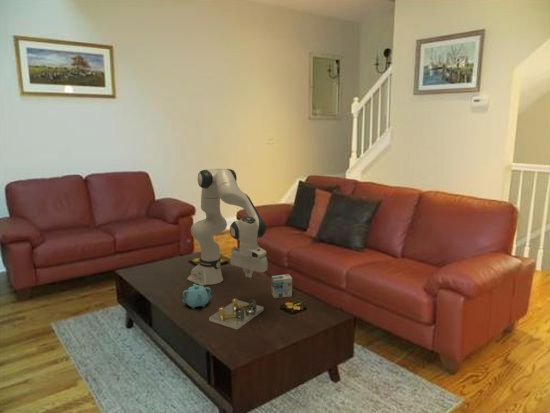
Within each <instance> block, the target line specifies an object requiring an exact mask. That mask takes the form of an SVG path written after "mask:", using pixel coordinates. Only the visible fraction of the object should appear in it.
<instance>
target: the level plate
mask: <svg viewBox="0 0 550 413" xmlns="http://www.w3.org/2000/svg"><path fill="white" fill-rule="evenodd" d="M245 304H248V302H246V301H242V300H239V299H238V305H245ZM264 308H265V306H261V305H258V304H256V308H254V309H250V308H246V309H244V316H243V317H241V318H238V317H232V318H226V319H223V320H220V319H219V310H218V311H216V312H215V313H214V314H212V315H210V316H209V318H208V321H209V322H210V323H211V322H212V323H215V324H218V325H221V326H224V327H228V328H230V329H234V330H237V331H238V330H240V328H242V327H243V326H244V325H246V324H247V323H249V322H250V321H251V320H252V319H254V318H256V317H257V316H259V314H261V313H262V312H264ZM230 313H236V311H234V310H233V305H232V302H231V303H229V304H228V305H226V306H225V307H224V314H230Z"/></svg>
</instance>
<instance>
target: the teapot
mask: <svg viewBox="0 0 550 413" xmlns="http://www.w3.org/2000/svg"><path fill="white" fill-rule="evenodd" d="M207 290H208V291H207ZM211 292H212V290H211V288H210V287H209V286H206V287H205V285H199V284H197V283H193V284H192V286H189V287H188V288H187V289H185V290H184V291H182V295H183V296H182V297H183V298H182V302H183V303H186V304H187V306H189V307H190V308H191V310H192V309H193V310H194V309H196V308H197V307H202V308H205V307H206V305H207V304H208V303H209V300H210V299H211V298H212V295H211ZM185 293H186V294H185Z"/></svg>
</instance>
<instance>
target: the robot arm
mask: <svg viewBox="0 0 550 413" xmlns="http://www.w3.org/2000/svg"><path fill="white" fill-rule="evenodd" d="M197 183H198V186H199V187H200V188H201V195H200V209H201V211H202V212H203V213H205V217H206V218H205V219H201V220H198V221H196V222H194V223H193V224H192V225H191V227H190V234H191V236H192V237H193V238H194V239H195V240H197V242H198V244H199V248H200V256H201V257H200V258H199V259H197V262H199V263H198V264H197V265H195V267H193V268H192V269H191V272H190V275H188V277H187V278H186V279H187V280H188V281H190V282H191V283H193V284H196V285H201V286H207V285H209V286H210V285H216V284H220V283H221V282H223V281H224V277H223V274H222V268H221V263H222V261H221V256H220V254H221V253H220V251H221V250H220V246H219V244H218V242H215V240H214V236H216V235H217V236H218V235H219V234H221V233H223V232H224V231H225V230H227V226H228V222H227V220H226V219H225V217H224V216H223V215H222V212H221V201H222V202H224V203H225V204H228V205H232V206H236V207H239V208H242V209H243V210H244V211H245V212H246V214H247V216H243V217H241V218H240V219H238V220H234V221H233V222H232V223H231V224H230V227H229V234H230V236H231V237H232V238H233V239H234V240H236V241H239V247H235V246H234V247H232V248H231V250H230V253H231V254H230V264H231V266H235V267H237V268H242V270H243V272H244V275H245V276H244V277H247V278H252V277H253V273H254V271H255V272H259V273H263V274H264V273H265V272H266V271H267V270H268V265H269V264H268V258H267V256H266V255H267V250H266V249H264V248H262V247H260V246H259V244H258V239H261V238H262V237H263V236H264V235H265V234H266V233H267V224H266V222H265V220H264V219H263V218H262V217H261V215H260V214H259V212H258V210H257V208H256V207H255V205H254V203H253V201H252V199H251V198H250V197H249V195H248V194H247V193H245V192H243V191H242V190H241V188H240V187H239V185H238V183H237V173H236V171H235V170H233V169H230V168H211V169H202V170H200V171H199V172H198V174H197Z"/></svg>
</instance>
